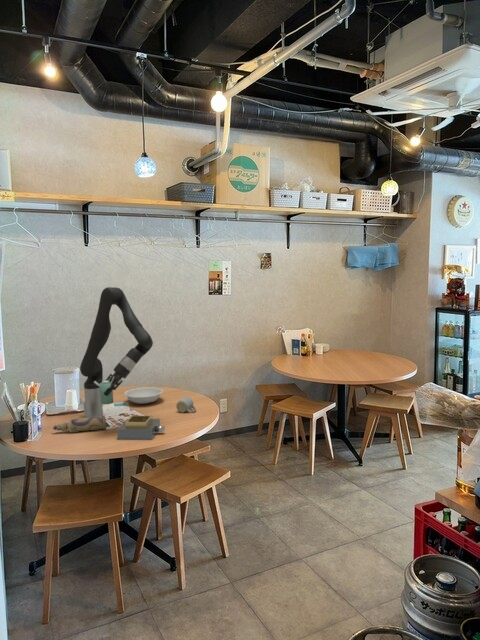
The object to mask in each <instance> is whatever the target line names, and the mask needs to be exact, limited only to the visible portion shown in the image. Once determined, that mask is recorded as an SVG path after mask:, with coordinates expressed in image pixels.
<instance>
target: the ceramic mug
mask: <svg viewBox="0 0 480 640" xmlns="http://www.w3.org/2000/svg"><path fill="white" fill-rule="evenodd" d="M175 408H176V409H177V411H178V412H179V413H187V412H189V413H192V414H193V413H195V412H196V411H197V408H196V407H195V406H194V401H193V399H192V398H191V397H189V396H184V397H182V398H181V399H179V400H178V402H177V403H176V406H175ZM192 409H193V410H192Z"/></svg>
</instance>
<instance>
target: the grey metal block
mask: <svg viewBox="0 0 480 640" xmlns="http://www.w3.org/2000/svg"><path fill="white" fill-rule="evenodd" d="M160 421H161V419H160V418H153V415H130V417H129V418H127V419H125V420H124V421H123V422H122V424H121V425H119V426H118V428H116V429H117V432H116V433H117V434H116V435H117V436H116V437H117V440H153V439H154V438H155V436H156V435H157V434H158V433H161V432H162V433H163V432H164V433H165V430H166V427H165V425H161V422H160Z"/></svg>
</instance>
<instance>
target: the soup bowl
mask: <svg viewBox="0 0 480 640" xmlns="http://www.w3.org/2000/svg"><path fill="white" fill-rule="evenodd" d="M163 393H164V390H163V389H162V388H159V387H152V386H147V387H146V386H145V387H137V388H132V389H128V390H126V391H124V393H123V396H125V397H127V399H128V400H129V401H130V402H132V403H134V404H142V405H143V404H150V403H153V402H156V401H157V400H158V399H159V398H160V396H161V395H162V394H163Z"/></svg>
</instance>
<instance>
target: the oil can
mask: <svg viewBox="0 0 480 640" xmlns="http://www.w3.org/2000/svg"><path fill="white" fill-rule="evenodd" d="M94 383H95V384H96V385H98V386H99V387H100V396H101V404H102V405H110V404H113V403H114V390H113V391H111V392H110V394H109V395H108V396H105V395H104V392H105V391H106V390H107V389H108V388H109V386H110V382H109V381H106V380H102V383H100V384H99V383H97V382H96V381H94Z"/></svg>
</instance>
